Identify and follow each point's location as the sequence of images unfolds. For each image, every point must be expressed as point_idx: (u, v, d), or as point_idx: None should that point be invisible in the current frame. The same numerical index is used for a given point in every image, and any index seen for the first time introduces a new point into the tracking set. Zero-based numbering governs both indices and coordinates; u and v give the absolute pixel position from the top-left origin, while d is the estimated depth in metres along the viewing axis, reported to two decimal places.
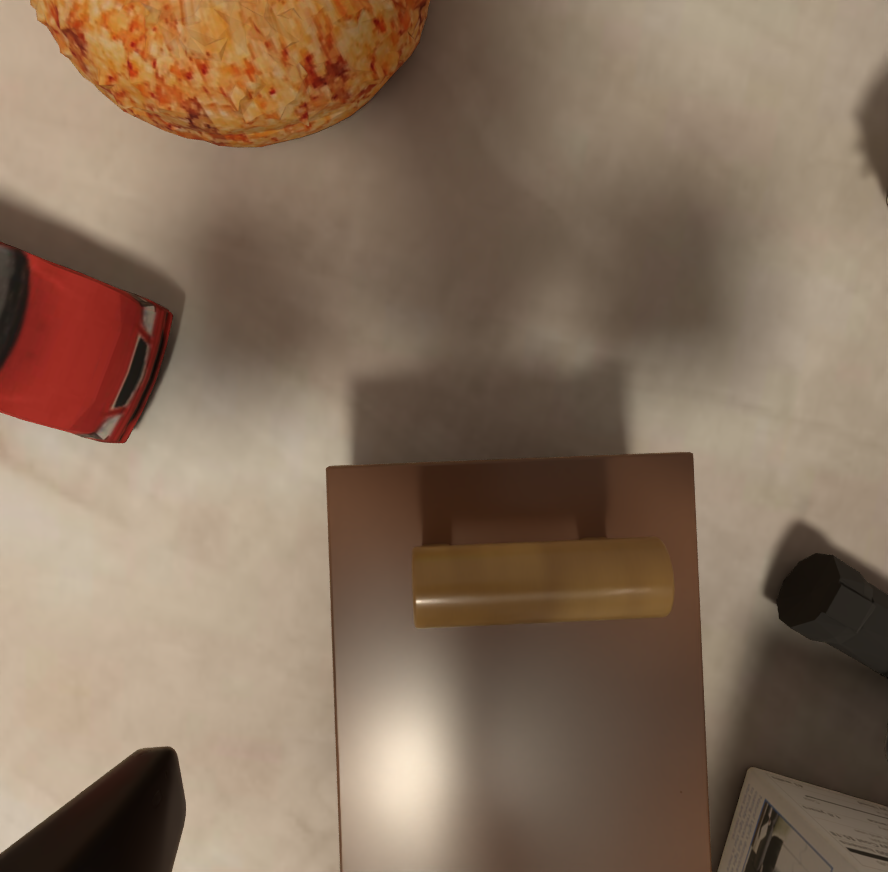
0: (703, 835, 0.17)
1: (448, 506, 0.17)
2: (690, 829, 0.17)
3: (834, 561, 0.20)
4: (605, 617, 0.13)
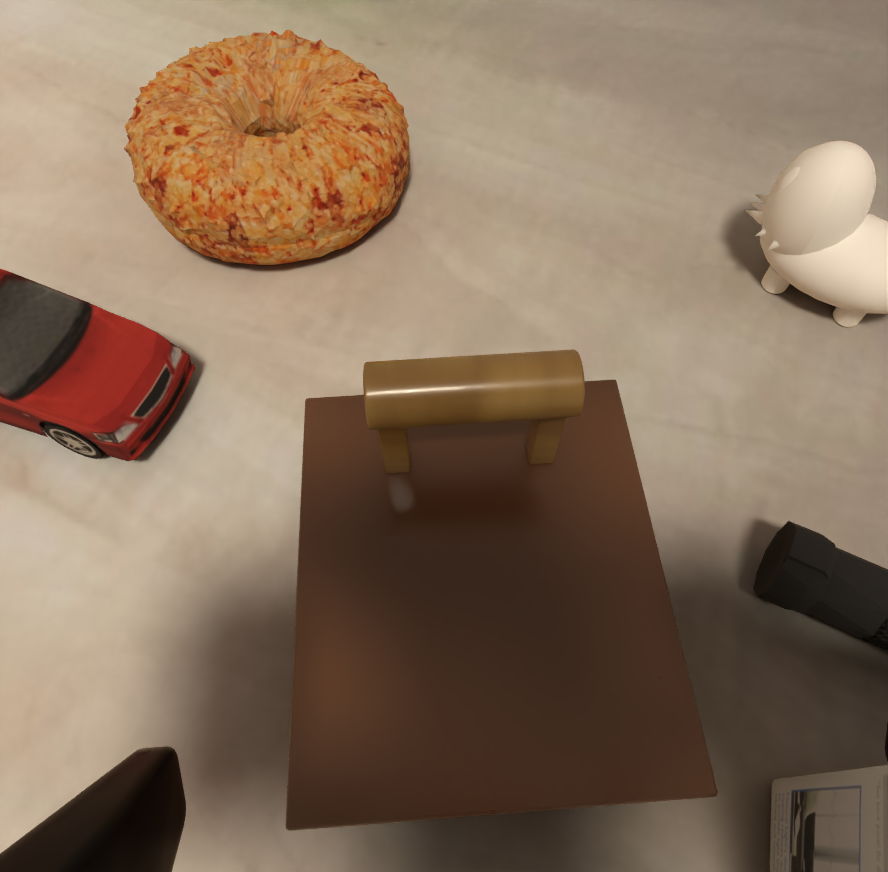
0: (693, 726, 0.15)
1: None
2: (677, 719, 0.15)
3: (790, 523, 0.21)
4: (529, 397, 0.15)
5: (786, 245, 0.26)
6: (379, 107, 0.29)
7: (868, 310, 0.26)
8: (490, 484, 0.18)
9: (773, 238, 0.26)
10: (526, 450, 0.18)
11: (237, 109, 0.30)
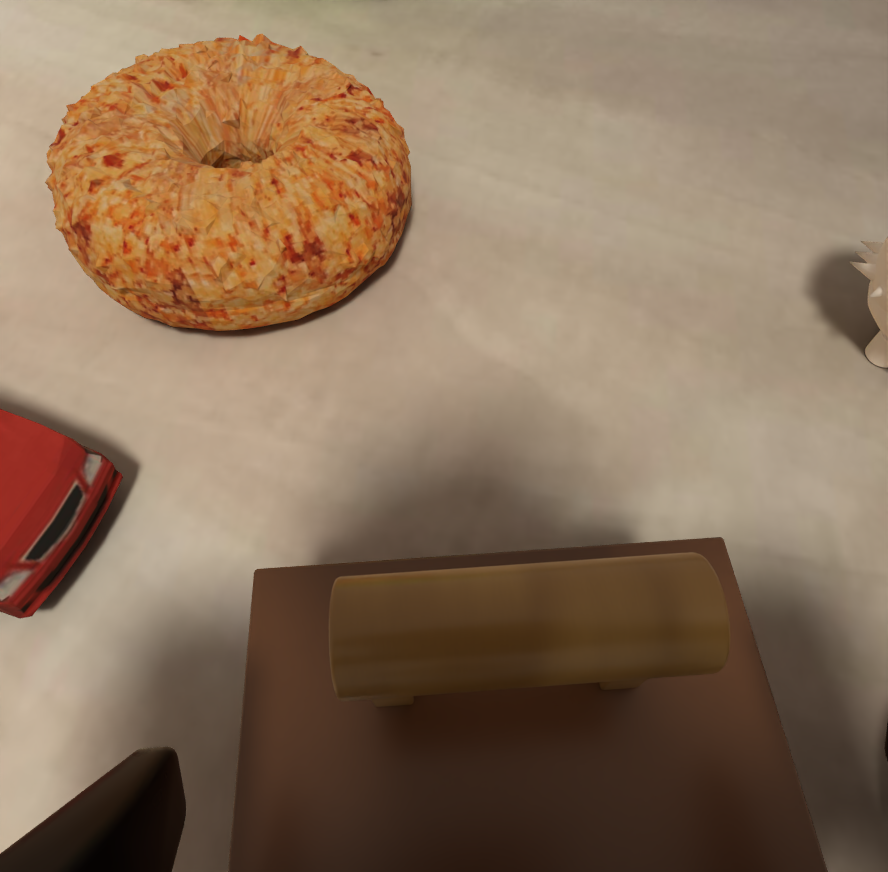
0: None
1: None
2: None
3: None
4: (630, 658, 0.08)
5: None
6: (372, 130, 0.23)
7: None
8: (541, 727, 0.11)
9: None
10: None
11: (192, 132, 0.23)
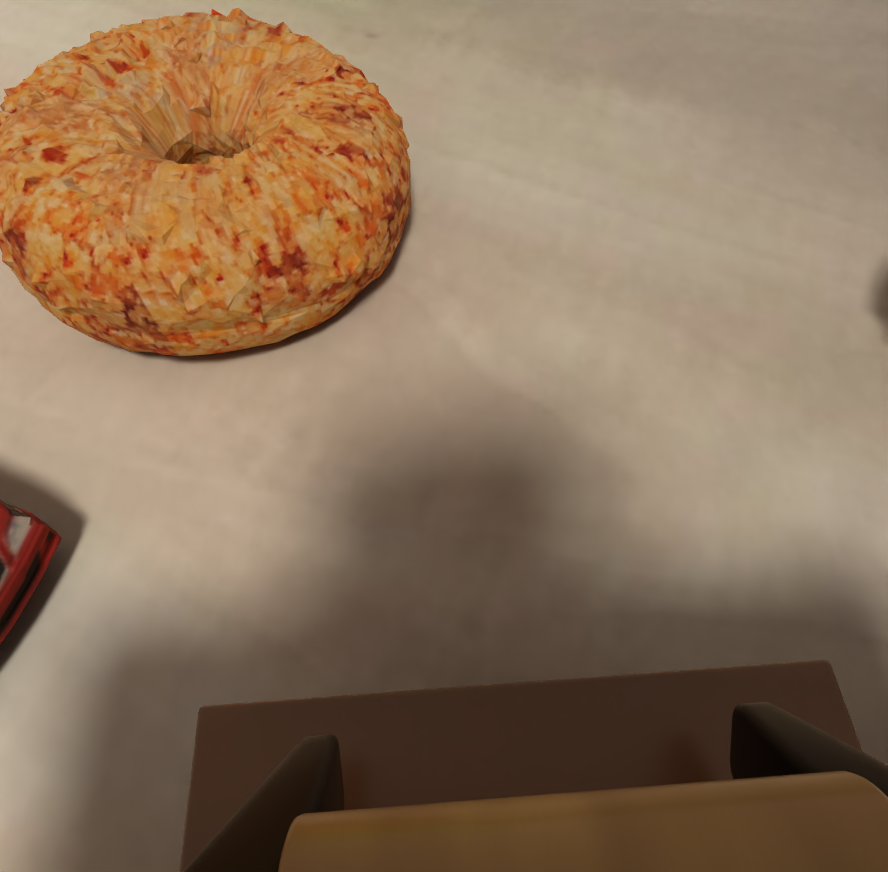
0: None
1: (410, 777, 0.09)
2: None
3: None
4: None
5: None
6: (364, 119, 0.19)
7: None
8: None
9: None
10: None
11: (153, 121, 0.20)
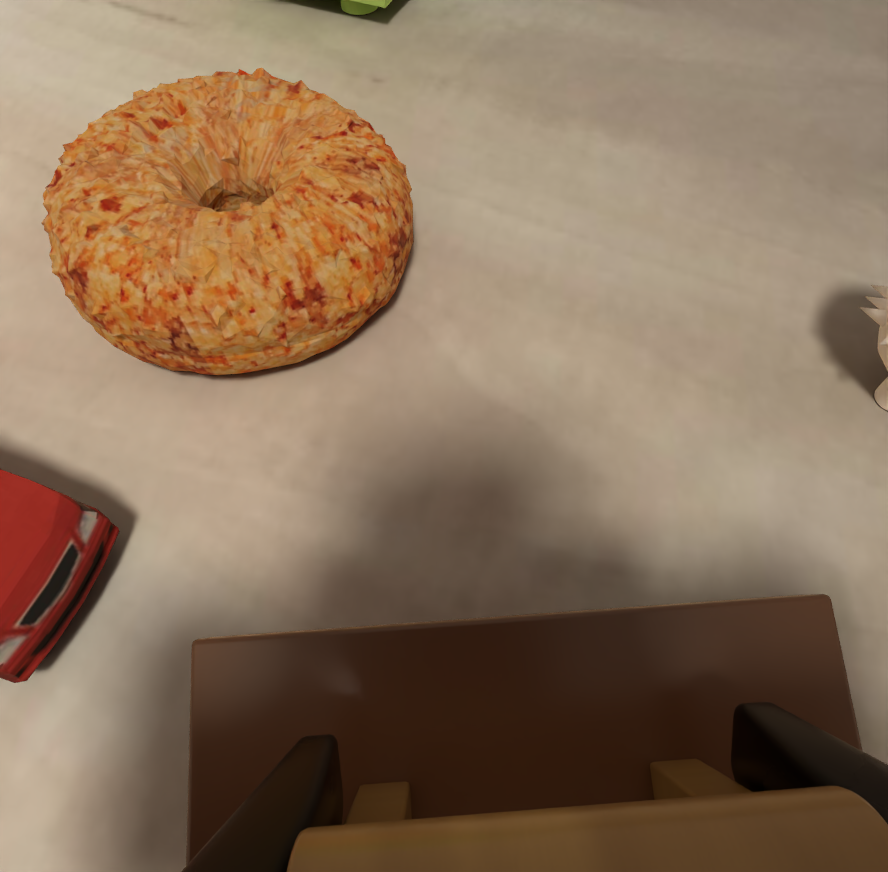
0: None
1: (407, 708, 0.09)
2: None
3: None
4: None
5: None
6: (373, 170, 0.22)
7: None
8: None
9: None
10: (651, 784, 0.09)
11: (190, 171, 0.23)
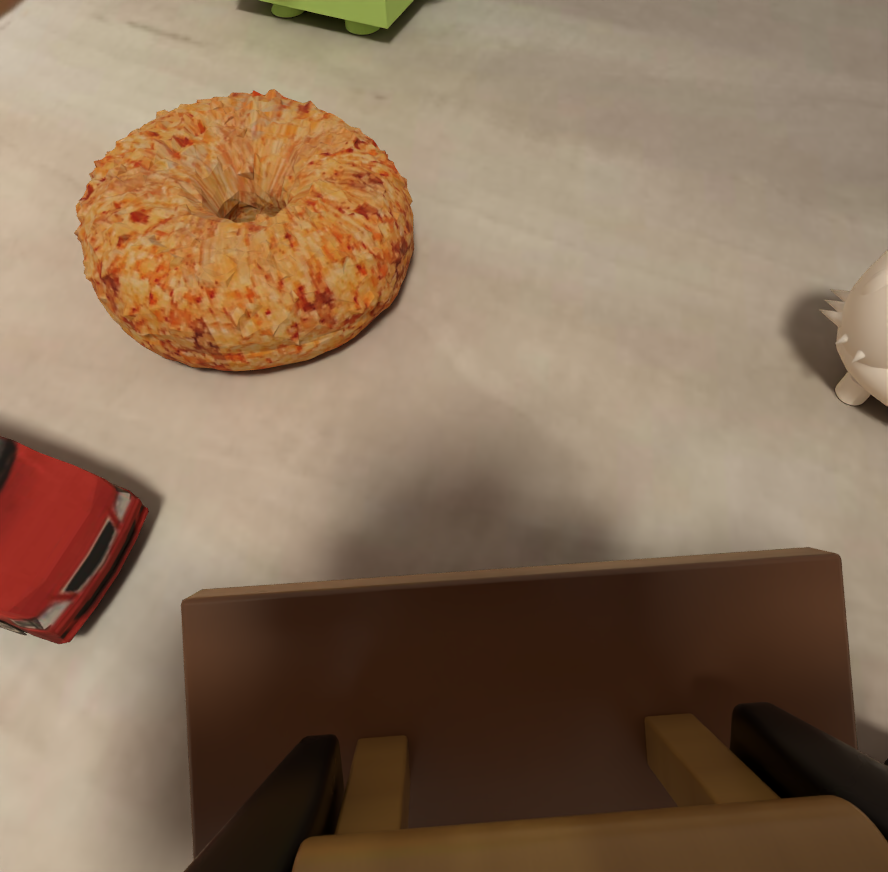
0: None
1: (404, 666, 0.09)
2: None
3: None
4: None
5: (876, 358, 0.21)
6: (377, 184, 0.25)
7: None
8: (569, 810, 0.09)
9: (858, 348, 0.22)
10: (645, 737, 0.09)
11: (209, 185, 0.25)
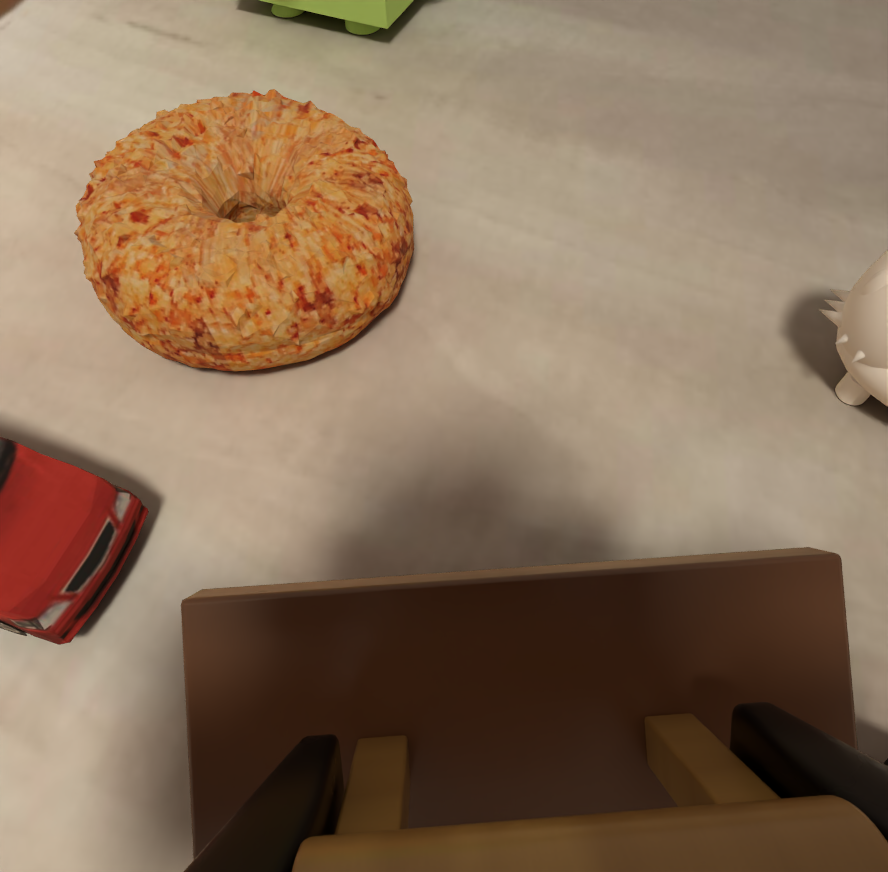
0: None
1: (404, 666, 0.09)
2: None
3: None
4: None
5: (876, 358, 0.21)
6: (377, 184, 0.25)
7: None
8: (569, 809, 0.09)
9: (858, 348, 0.22)
10: (645, 737, 0.09)
11: (209, 185, 0.25)
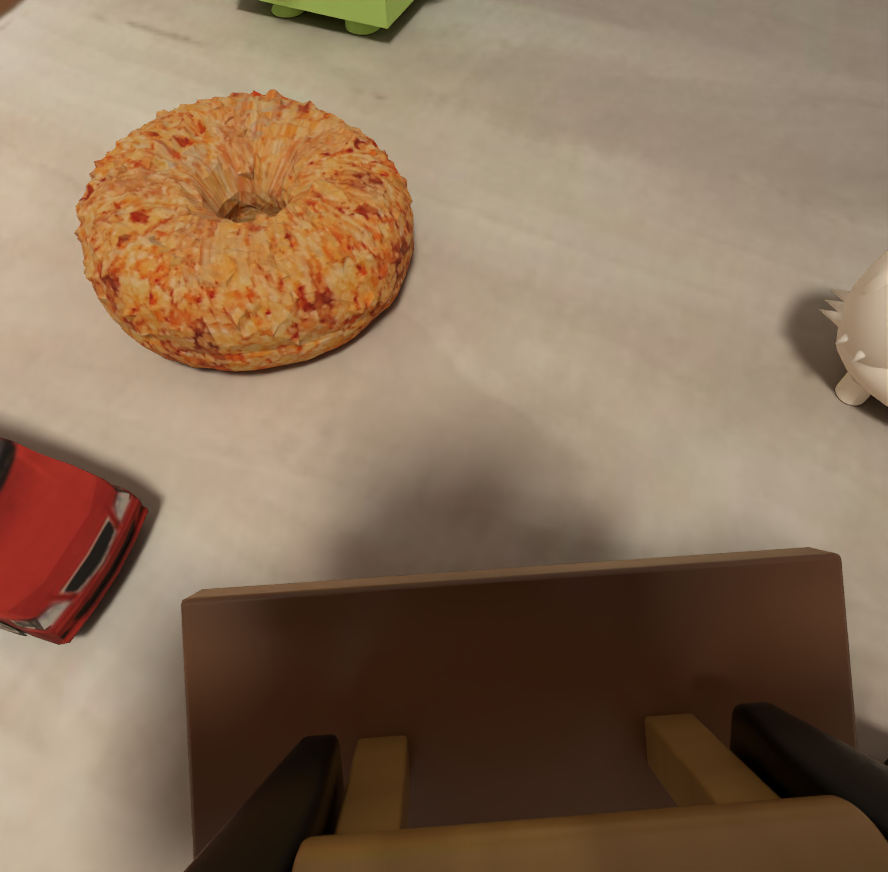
0: None
1: (404, 666, 0.09)
2: None
3: None
4: None
5: (876, 358, 0.21)
6: (377, 184, 0.25)
7: None
8: (569, 809, 0.09)
9: (858, 348, 0.22)
10: (645, 737, 0.09)
11: (209, 185, 0.25)
